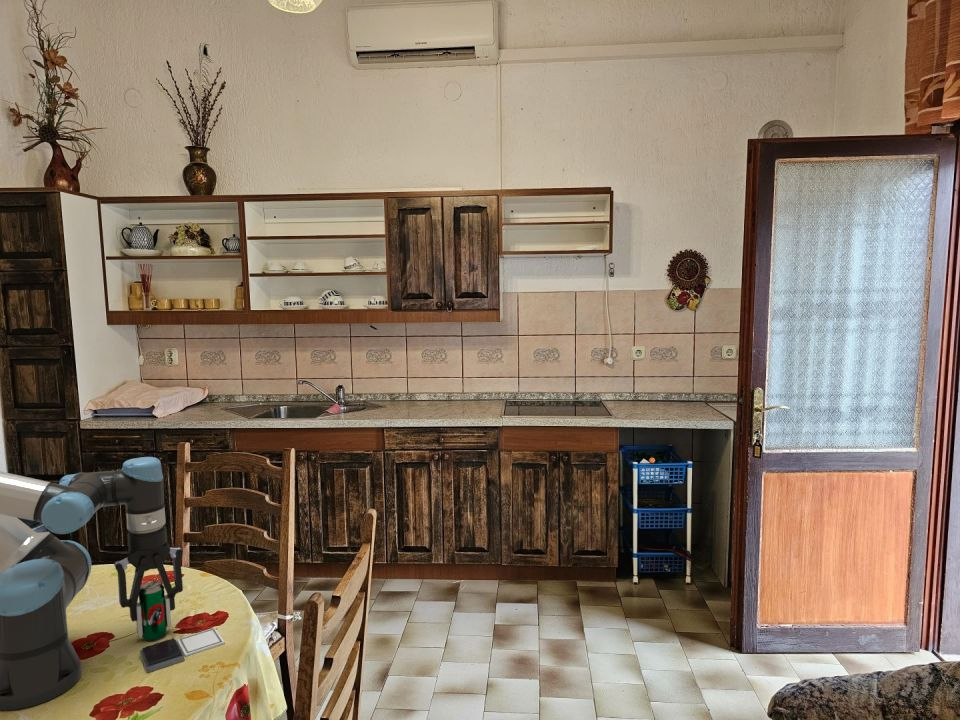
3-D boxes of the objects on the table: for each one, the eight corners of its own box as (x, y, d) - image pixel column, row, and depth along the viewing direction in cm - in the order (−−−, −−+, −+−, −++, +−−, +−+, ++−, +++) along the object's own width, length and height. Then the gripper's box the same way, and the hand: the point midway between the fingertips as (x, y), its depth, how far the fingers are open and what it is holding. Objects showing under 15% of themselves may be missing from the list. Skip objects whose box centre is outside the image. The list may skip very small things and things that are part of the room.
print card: (185, 656, 132) (185, 654, 132) (177, 641, 139) (176, 638, 139) (224, 643, 137) (224, 641, 137) (215, 629, 144) (214, 627, 144)
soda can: (171, 630, 143) (168, 580, 142) (158, 642, 138) (154, 590, 137) (151, 630, 144) (147, 579, 143) (136, 641, 139) (133, 589, 138)
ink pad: (147, 673, 127) (146, 664, 127) (140, 655, 133) (139, 647, 133) (184, 660, 131) (183, 652, 131) (176, 644, 137) (175, 636, 137)
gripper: (101, 542, 130) (110, 650, 132) (194, 523, 141) (201, 622, 143) (97, 533, 136) (105, 635, 138) (187, 514, 147) (193, 610, 149)
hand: (154, 628), depth 141 cm, fingers closed on soda can, 5 cm apart
